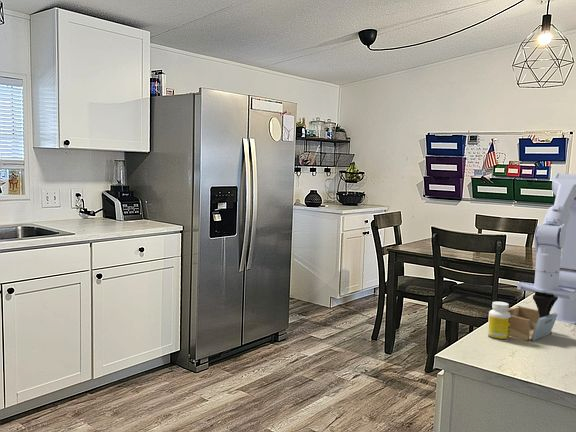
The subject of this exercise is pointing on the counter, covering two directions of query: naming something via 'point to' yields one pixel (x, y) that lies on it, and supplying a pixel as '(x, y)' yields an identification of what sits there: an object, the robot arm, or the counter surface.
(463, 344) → the counter surface
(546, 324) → the panel
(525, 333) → the box
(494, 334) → the supplement bottle
